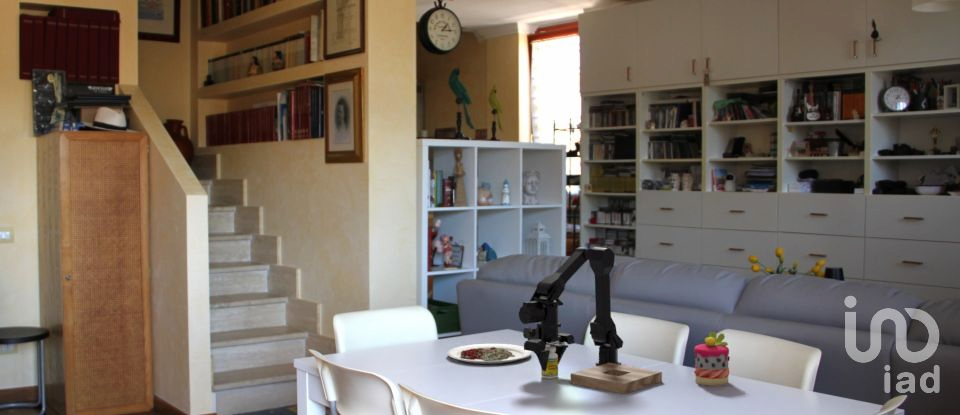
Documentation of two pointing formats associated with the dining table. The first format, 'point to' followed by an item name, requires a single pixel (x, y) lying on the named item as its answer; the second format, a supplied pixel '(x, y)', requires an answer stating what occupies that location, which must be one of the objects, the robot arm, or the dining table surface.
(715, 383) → the cake
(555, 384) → the dining table surface
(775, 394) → the dining table surface
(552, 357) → the supplement bottle
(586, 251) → the robot arm
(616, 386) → the socket block
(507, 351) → the plated food
